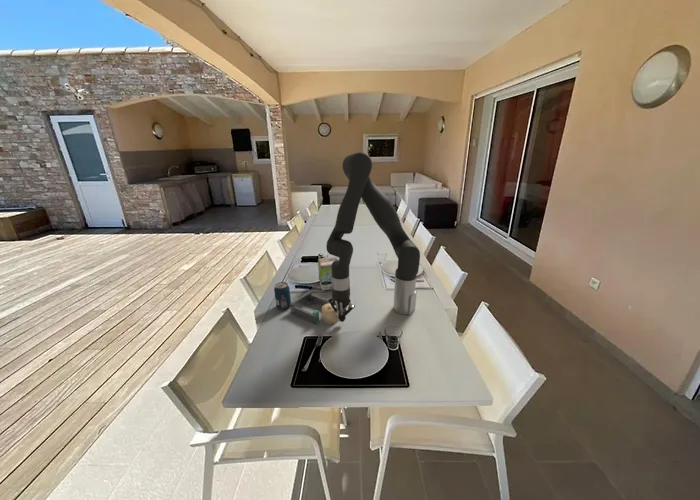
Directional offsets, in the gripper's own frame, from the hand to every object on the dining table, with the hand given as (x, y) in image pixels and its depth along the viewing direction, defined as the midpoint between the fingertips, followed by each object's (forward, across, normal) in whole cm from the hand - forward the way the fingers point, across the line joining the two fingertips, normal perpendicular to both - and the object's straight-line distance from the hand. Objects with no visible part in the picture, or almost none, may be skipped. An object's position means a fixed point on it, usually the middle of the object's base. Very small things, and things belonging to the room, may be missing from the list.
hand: (342, 320), depth 123 cm
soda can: (+2, +31, +4) cm, 31 cm away
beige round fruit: (+2, +6, 0) cm, 7 cm away
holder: (+2, +17, 0) cm, 17 cm away
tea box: (+2, +24, -26) cm, 35 cm away
